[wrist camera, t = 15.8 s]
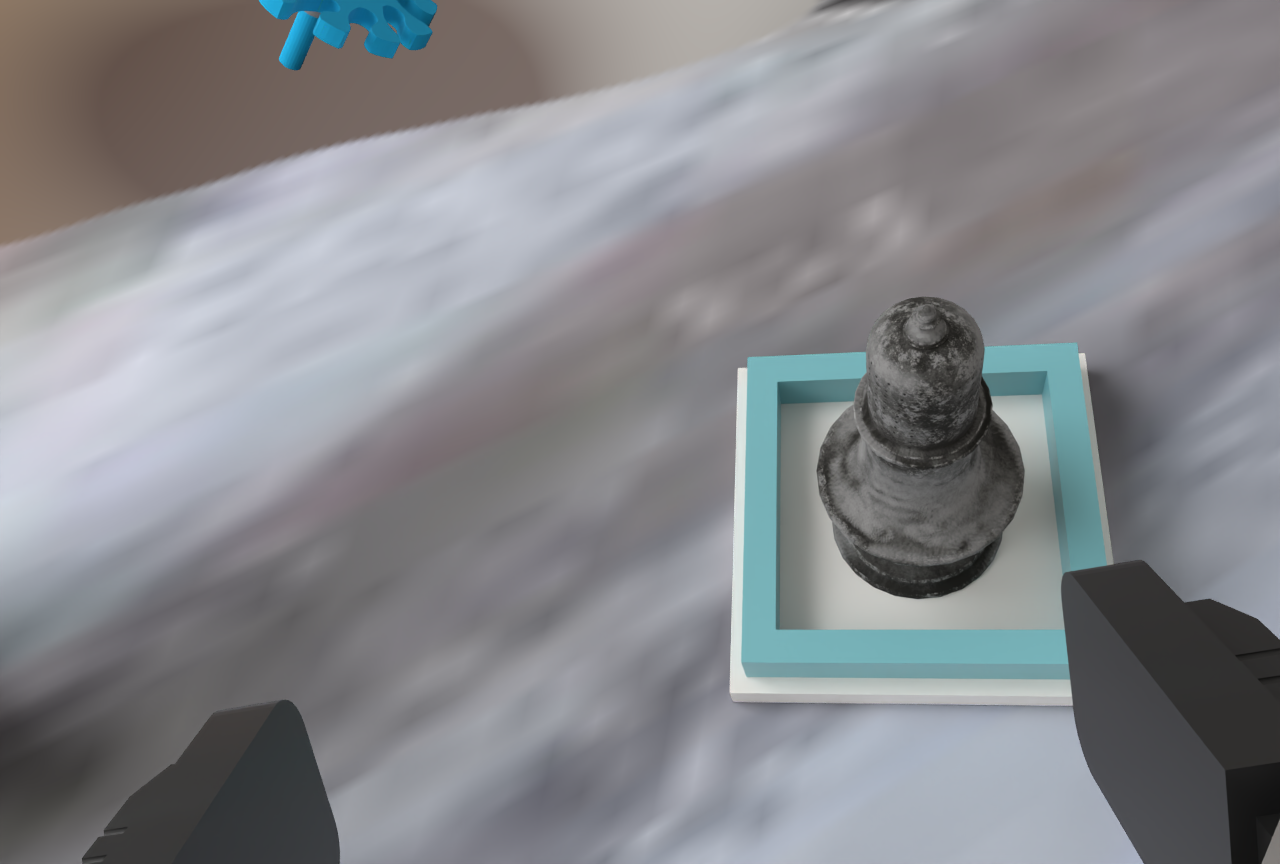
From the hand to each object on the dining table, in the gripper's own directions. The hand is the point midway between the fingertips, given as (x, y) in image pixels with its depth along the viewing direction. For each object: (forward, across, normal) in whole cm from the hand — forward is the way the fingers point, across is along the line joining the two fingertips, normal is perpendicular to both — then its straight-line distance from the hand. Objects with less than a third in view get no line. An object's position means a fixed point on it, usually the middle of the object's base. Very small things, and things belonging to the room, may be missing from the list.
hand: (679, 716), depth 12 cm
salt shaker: (+24, -6, +8) cm, 26 cm away
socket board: (+25, -6, +9) cm, 27 cm away
